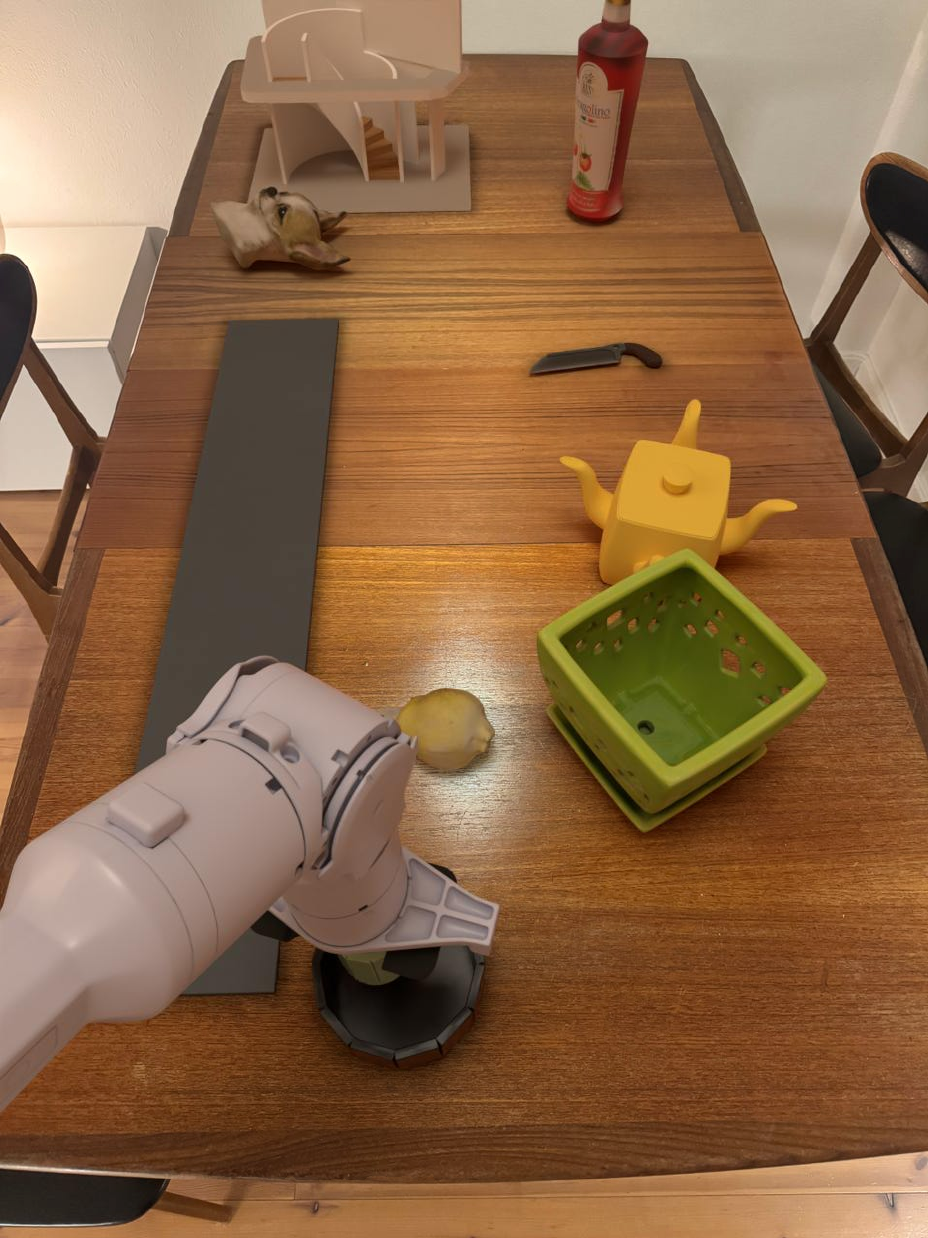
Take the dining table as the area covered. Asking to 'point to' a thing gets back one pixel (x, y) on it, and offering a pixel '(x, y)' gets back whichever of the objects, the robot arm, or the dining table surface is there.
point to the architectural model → (360, 104)
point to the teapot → (668, 505)
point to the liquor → (605, 110)
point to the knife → (595, 357)
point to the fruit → (445, 726)
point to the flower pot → (671, 686)
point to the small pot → (367, 967)
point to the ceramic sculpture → (278, 230)
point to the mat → (248, 553)
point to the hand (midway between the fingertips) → (367, 936)
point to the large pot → (401, 1008)
